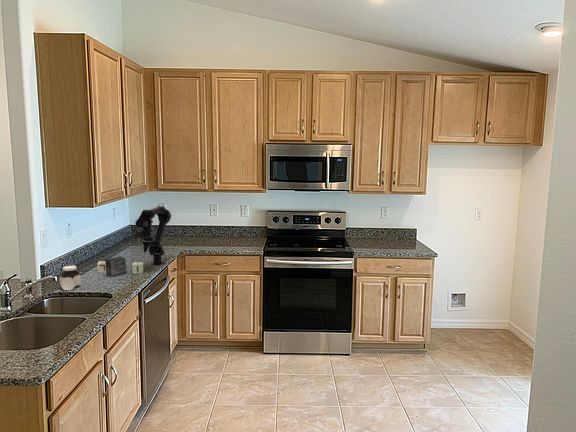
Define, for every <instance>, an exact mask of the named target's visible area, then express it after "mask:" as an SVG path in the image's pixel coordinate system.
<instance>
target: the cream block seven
mask: <svg viewBox="0 0 576 432" xmlns="http://www.w3.org/2000/svg"><path fill="white" fill-rule="evenodd" d="M96 267H97V273H106V262H105V260H102V261H101V260H100V261H98V262H97V266H96Z"/></svg>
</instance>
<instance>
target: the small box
mask: <svg viewBox="0 0 576 432" xmlns="http://www.w3.org/2000/svg"><path fill="white" fill-rule="evenodd" d="M104 261H105V262H106V272H105V276H108V277H117V276H120V275H125V274H127V266H126V265H127V264H126V256H125V257H124V256H115V257H110V258H105V260H104Z"/></svg>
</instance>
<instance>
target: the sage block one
mask: <svg viewBox="0 0 576 432" xmlns="http://www.w3.org/2000/svg"><path fill="white" fill-rule="evenodd" d="M131 265H132V275H133V274H134V275H135V274H136V275H137V274H143V273H144V261H140V262H139V261H137V262H135V261H134V262H132V264H131Z"/></svg>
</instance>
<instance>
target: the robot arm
mask: <svg viewBox="0 0 576 432" xmlns="http://www.w3.org/2000/svg"><path fill="white" fill-rule="evenodd" d="M155 216H157V219H158V227H157V229H156V233H155V236H154V238H153V236H151V235H152V233H153V230H152V227H153V226H152V224H153V223H154V221H153V219H154V218H155ZM171 219H172V213H171V212H170V210H168V209H166V208H165V206H161V205H158V206H156V207H154V208H151V209H143V210H142V211H141V214H140V215H139V216H138V218H137V220H135V226H136V227H137V228H140V229H141V231H140V232H139V231H135V233H134V234H132V238H133V240H136V239H138V238H139V239H138V242H139V243H141V244H142V248H143V249H142V250H143V253H147V250H148V252H149V256H152V263H151V264H152V265H163V260H162V259H163V258H162V256H164V255H165V250H164V247H163V243H162V241H163V238H164V234H165V229H166V227H167V224H168V223H169V222H170V220H171Z"/></svg>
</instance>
